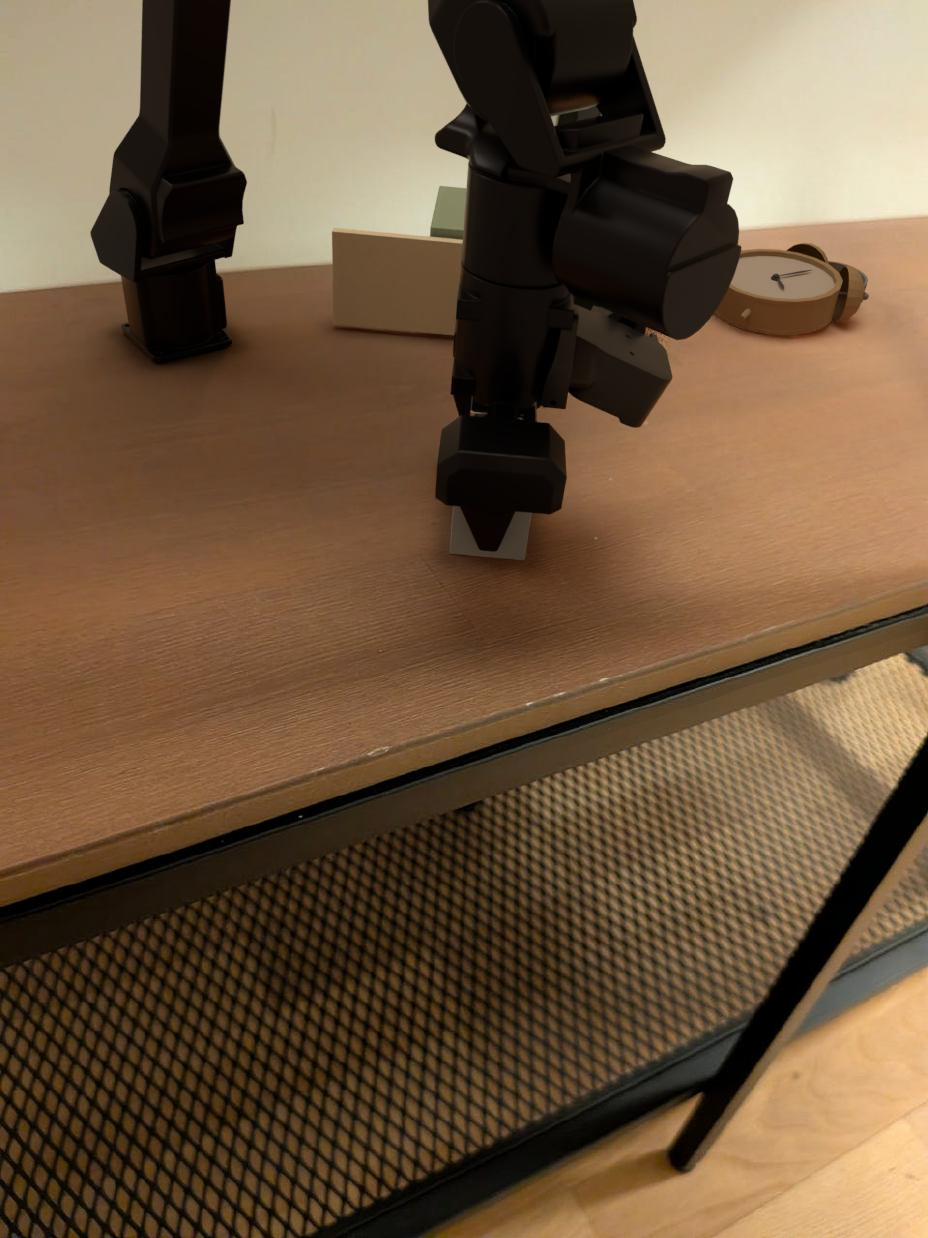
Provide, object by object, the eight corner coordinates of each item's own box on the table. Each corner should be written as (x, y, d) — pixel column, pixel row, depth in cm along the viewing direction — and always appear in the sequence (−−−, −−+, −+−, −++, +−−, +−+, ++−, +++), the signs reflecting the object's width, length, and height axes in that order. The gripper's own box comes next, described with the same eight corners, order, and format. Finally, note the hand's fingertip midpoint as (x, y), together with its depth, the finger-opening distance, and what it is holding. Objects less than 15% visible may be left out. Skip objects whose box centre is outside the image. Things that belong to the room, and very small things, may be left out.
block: (524, 560, 57) (534, 490, 53) (449, 554, 57) (454, 483, 53) (524, 516, 60) (534, 448, 57) (453, 510, 60) (459, 441, 57)
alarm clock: (686, 259, 87) (826, 220, 90) (682, 310, 91) (817, 271, 94) (756, 311, 80) (907, 266, 83) (749, 363, 83) (894, 319, 86)
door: (323, 351, 74) (321, 254, 69) (334, 320, 78) (333, 226, 73) (539, 371, 74) (552, 275, 69) (538, 338, 79) (550, 246, 74)
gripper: (706, 366, 41) (635, 637, 51) (659, 215, 55) (611, 451, 65) (444, 342, 40) (426, 618, 51) (465, 197, 54) (448, 436, 65)
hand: (489, 521), depth 58 cm, fingers open, 5 cm apart
